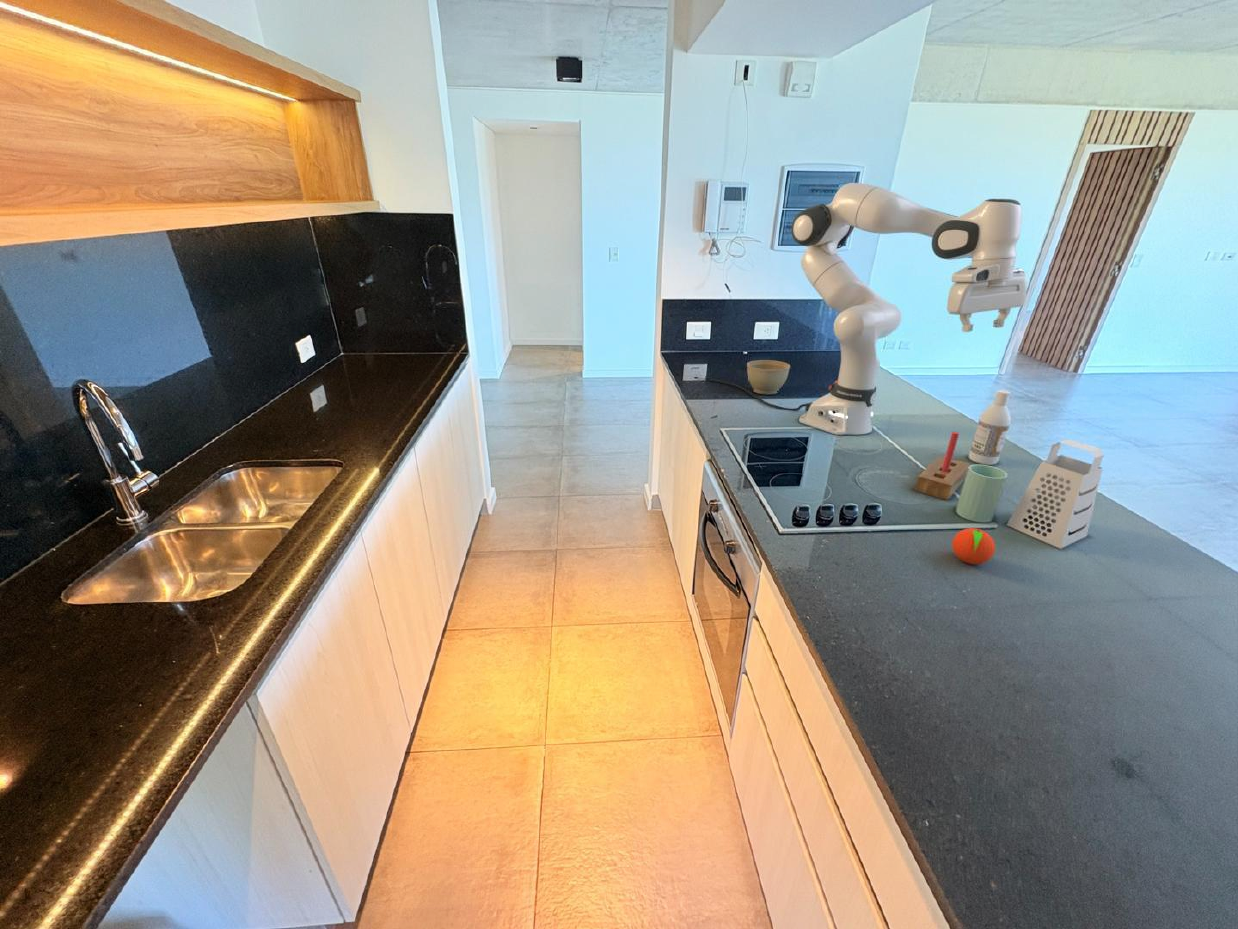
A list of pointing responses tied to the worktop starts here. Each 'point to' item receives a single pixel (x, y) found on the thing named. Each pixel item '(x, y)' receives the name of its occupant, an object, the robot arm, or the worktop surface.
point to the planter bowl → (767, 375)
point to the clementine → (973, 546)
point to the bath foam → (991, 431)
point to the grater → (1060, 496)
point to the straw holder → (942, 478)
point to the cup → (981, 493)
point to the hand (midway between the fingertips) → (982, 329)
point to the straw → (950, 451)
